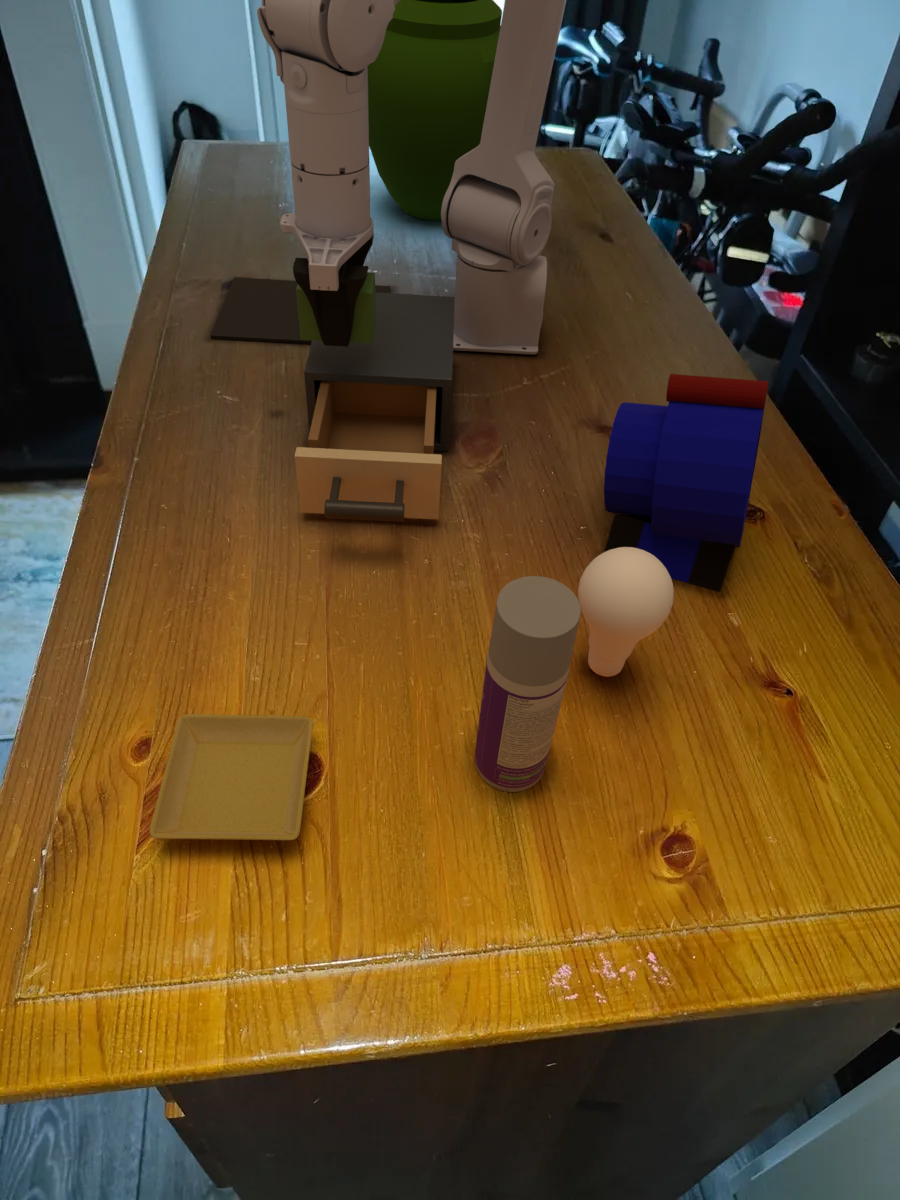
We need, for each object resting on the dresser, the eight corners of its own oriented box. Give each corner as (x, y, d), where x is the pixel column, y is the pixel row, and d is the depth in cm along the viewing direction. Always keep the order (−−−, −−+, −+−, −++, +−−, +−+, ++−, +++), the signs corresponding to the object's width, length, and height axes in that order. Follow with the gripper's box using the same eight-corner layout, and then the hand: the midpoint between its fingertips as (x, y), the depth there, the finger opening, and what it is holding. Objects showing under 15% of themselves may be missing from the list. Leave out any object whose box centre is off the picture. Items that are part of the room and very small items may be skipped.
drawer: (437, 555, 67) (440, 498, 62) (292, 548, 66) (285, 491, 62) (442, 423, 79) (445, 369, 75) (320, 417, 78) (316, 361, 74)
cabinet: (447, 451, 77) (452, 379, 72) (310, 444, 77) (303, 371, 71) (450, 365, 87) (454, 296, 82) (328, 359, 87) (324, 289, 81)
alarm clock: (727, 594, 67) (794, 438, 56) (577, 551, 69) (612, 394, 58) (745, 501, 75) (807, 349, 64) (610, 466, 77) (647, 314, 66)
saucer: (153, 853, 50) (145, 837, 48) (184, 730, 55) (178, 712, 54) (301, 856, 50) (298, 840, 48) (316, 734, 56) (314, 715, 54)
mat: (390, 289, 98) (390, 286, 98) (382, 348, 89) (382, 344, 89) (234, 280, 97) (234, 277, 97) (210, 338, 89) (210, 335, 88)
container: (470, 732, 56) (489, 574, 46) (539, 729, 57) (574, 572, 46) (477, 794, 53) (500, 641, 42) (550, 790, 54) (591, 638, 43)
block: (375, 322, 73) (375, 272, 69) (372, 343, 70) (371, 292, 67) (305, 319, 72) (301, 268, 69) (300, 340, 70) (295, 288, 67)
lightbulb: (591, 716, 58) (623, 608, 50) (544, 653, 61) (567, 543, 53) (662, 685, 60) (704, 577, 52) (613, 627, 64) (645, 517, 56)
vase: (374, 174, 121) (371, -35, 103) (509, 188, 120) (530, -20, 102) (344, 231, 108) (334, 3, 90) (495, 248, 106) (516, 21, 89)
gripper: (289, 122, 66) (302, 287, 76) (258, 198, 56) (278, 375, 66) (379, 128, 66) (380, 291, 76) (363, 203, 57) (368, 380, 66)
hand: (338, 331), depth 71 cm, fingers closed on block, 3 cm apart
